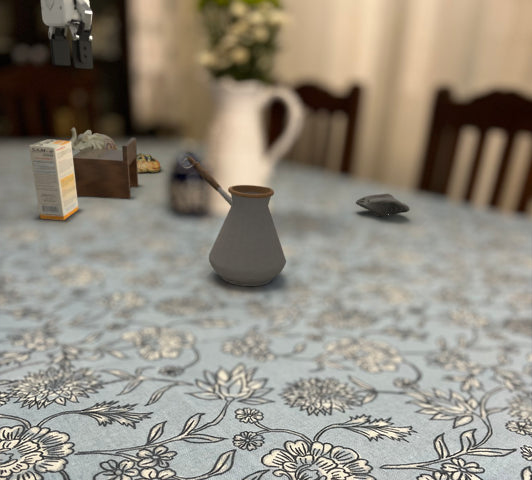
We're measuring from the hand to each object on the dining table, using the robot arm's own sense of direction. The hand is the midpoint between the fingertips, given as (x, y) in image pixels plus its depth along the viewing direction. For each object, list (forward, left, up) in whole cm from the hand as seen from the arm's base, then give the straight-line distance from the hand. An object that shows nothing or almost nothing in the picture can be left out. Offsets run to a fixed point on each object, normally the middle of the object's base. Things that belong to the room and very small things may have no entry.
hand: (72, 66), depth 92 cm
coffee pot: (+28, -30, -26) cm, 48 cm away
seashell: (+64, +8, -26) cm, 69 cm away
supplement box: (-4, -4, -26) cm, 26 cm away
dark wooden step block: (+1, +19, -25) cm, 32 cm away
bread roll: (+5, +47, -26) cm, 54 cm away
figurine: (-4, +33, -26) cm, 42 cm away
